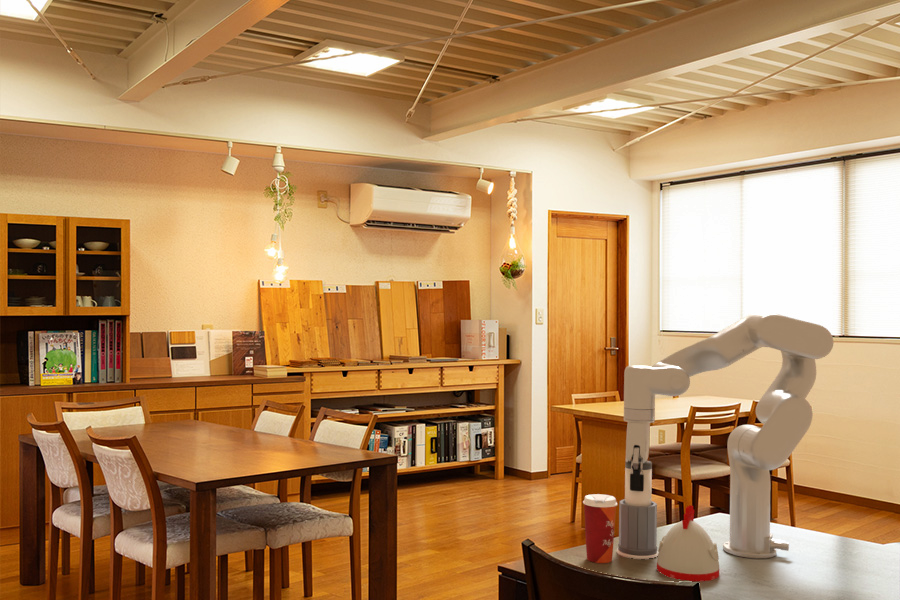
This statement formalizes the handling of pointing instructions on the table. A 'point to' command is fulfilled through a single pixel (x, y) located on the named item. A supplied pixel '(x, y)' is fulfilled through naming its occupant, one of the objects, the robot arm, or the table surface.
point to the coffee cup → (599, 527)
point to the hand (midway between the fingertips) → (638, 487)
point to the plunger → (639, 496)
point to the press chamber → (637, 531)
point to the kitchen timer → (688, 552)
